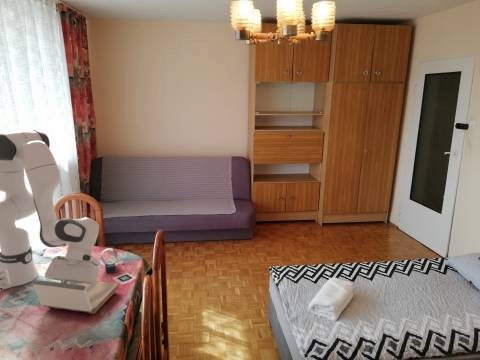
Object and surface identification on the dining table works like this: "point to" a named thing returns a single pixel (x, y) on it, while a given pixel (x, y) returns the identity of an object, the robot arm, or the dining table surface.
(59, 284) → the panel
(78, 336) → the dining table surface
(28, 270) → the robot arm
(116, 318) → the dining table surface
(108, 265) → the watch
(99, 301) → the brown flat block
